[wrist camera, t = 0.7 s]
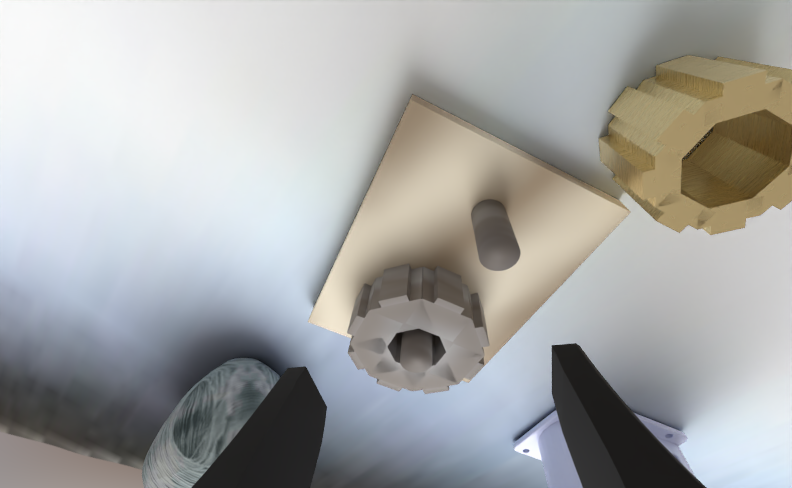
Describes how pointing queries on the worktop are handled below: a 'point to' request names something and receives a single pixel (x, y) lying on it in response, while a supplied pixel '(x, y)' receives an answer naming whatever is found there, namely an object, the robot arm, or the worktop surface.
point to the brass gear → (704, 142)
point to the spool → (206, 422)
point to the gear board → (455, 251)
